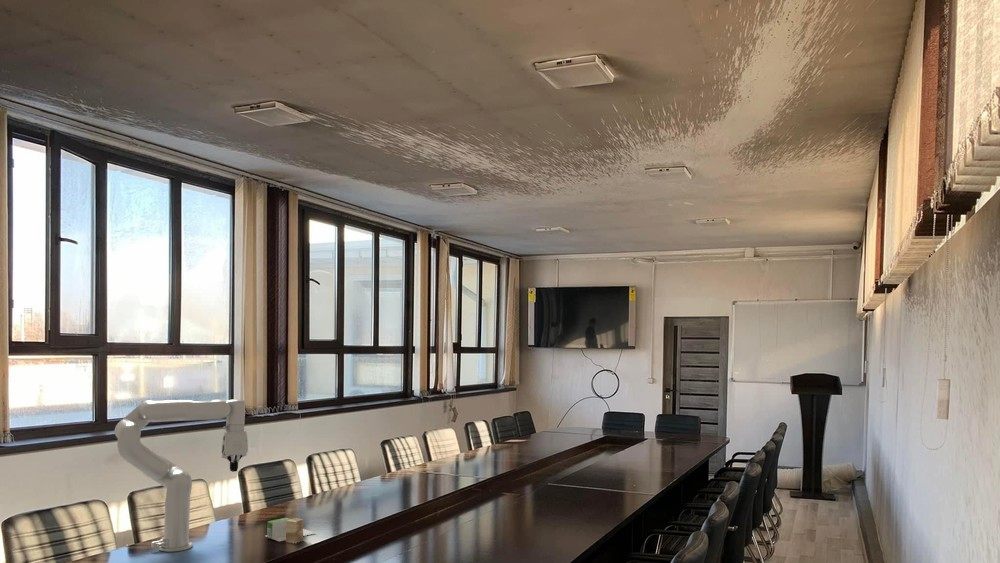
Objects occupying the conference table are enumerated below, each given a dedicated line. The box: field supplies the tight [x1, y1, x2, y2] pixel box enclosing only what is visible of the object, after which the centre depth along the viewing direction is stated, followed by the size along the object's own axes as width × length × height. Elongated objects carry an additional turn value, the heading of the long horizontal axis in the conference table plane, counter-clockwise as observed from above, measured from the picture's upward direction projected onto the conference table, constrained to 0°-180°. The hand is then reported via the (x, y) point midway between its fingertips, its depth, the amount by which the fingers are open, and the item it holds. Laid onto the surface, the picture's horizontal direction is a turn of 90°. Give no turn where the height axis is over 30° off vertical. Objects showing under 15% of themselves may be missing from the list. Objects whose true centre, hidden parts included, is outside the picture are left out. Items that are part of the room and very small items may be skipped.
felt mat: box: [264, 528, 316, 543], centre depth 329 cm, size 18×12×1 cm, turn 135°
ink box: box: [266, 517, 291, 540], centre depth 327 cm, size 7×4×13 cm
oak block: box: [285, 517, 304, 544], centre depth 320 cm, size 5×5×9 cm
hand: (233, 471), depth 323 cm, fingers closed
